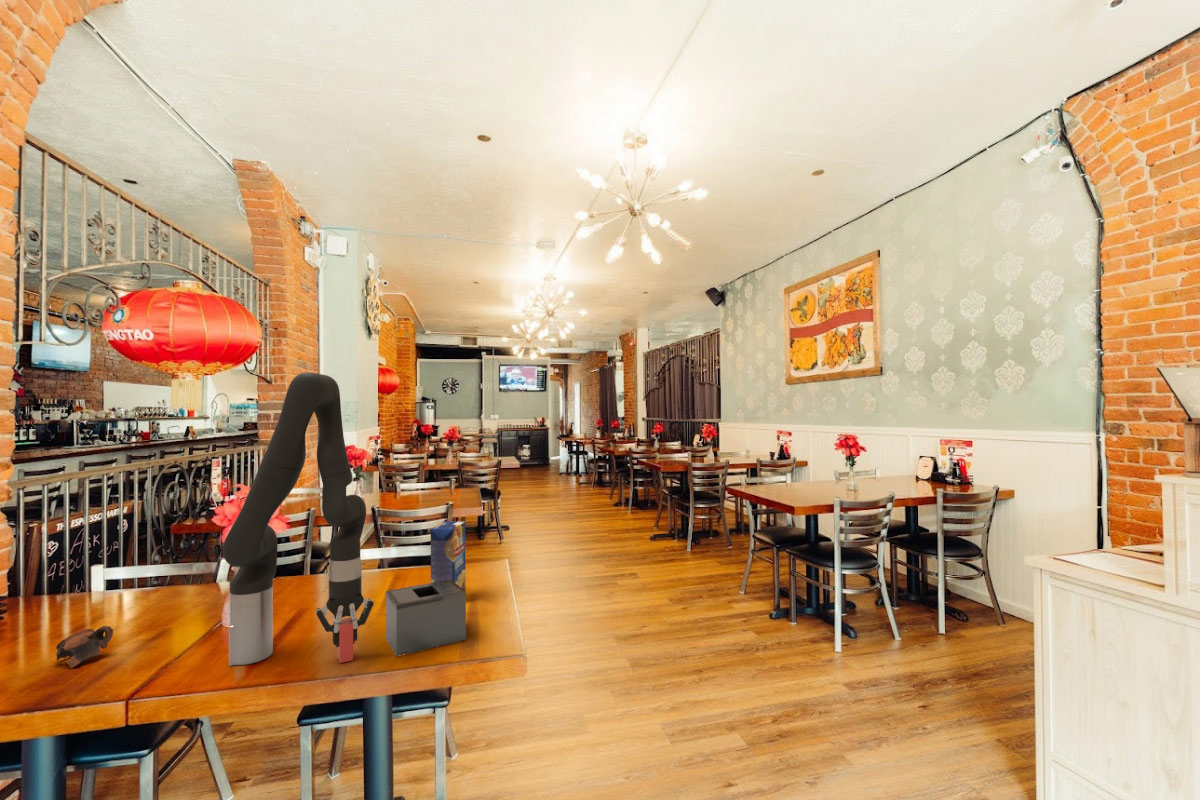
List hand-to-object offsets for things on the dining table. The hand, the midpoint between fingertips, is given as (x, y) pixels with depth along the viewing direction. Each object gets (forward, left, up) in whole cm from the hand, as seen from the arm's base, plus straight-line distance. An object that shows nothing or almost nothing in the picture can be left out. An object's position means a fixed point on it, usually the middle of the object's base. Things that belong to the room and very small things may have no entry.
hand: (345, 644), depth 135 cm
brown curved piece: (-53, +33, -4) cm, 63 cm away
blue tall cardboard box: (+35, +29, -4) cm, 46 cm away
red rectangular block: (0, 0, -3) cm, 3 cm away
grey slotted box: (+20, 0, -4) cm, 20 cm away
